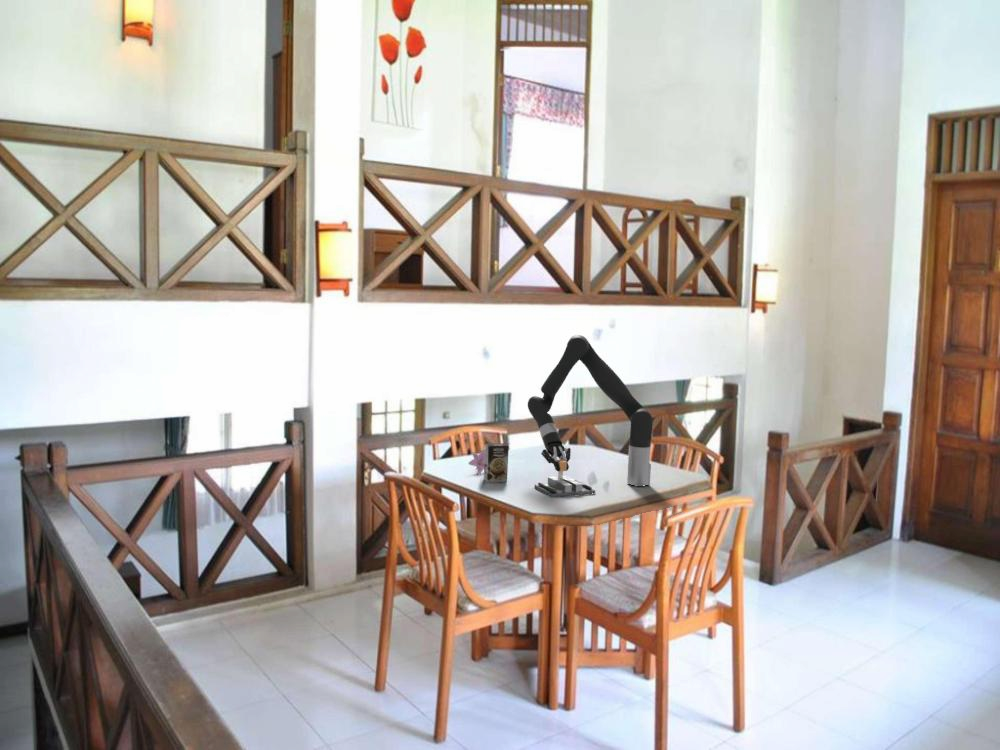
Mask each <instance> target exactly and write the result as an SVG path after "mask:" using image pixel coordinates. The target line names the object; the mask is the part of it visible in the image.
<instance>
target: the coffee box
mask: <svg viewBox="0 0 1000 750" xmlns="http://www.w3.org/2000/svg"><path fill="white" fill-rule="evenodd" d="M484 447H485V448H484V449H485V466H484V470H483V480H484V481H485V482H486V483H488V484H489V483H507V482H508V471H509V470H508V469H509V467H508V466H509V445H508V444H506V443H502V442H501V443H495V442H494V443H493V442H492V443H486V442H485V446H484Z"/></svg>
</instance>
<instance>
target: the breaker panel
mask: <svg viewBox="0 0 1000 750" xmlns="http://www.w3.org/2000/svg"><path fill="white" fill-rule="evenodd" d="M533 488H534V489H535V490H537V491H539V492H541V493H543V494H545V495H547V496H548V495H549V496H548V497H550V496H551V497H550V498H552V497H555V498H563V497H564V496H566V497H575V495H578V496H585V495H584V494H589V495H595V494H596V490H595V489H593V487H591V486H589V485H587V484H585V483H583V482H581V481H579V480H577V479H572V478H571V477H568V476H566V475H563V480H560V479H558V477H556V476H548V477H547V483H542V482H538V483H537V484H534V487H533ZM592 493H593V494H592ZM594 493H595V494H594ZM562 496H563V497H562Z"/></svg>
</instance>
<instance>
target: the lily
mask: <svg viewBox="0 0 1000 750" xmlns="http://www.w3.org/2000/svg"><path fill="white" fill-rule="evenodd" d="M471 454H472V457H473V458H472V459H471V460H470V461H469V462H468V465H470V466H473V467H475V470H476V471H477V474H478V473H480V474H481V473H482V471H484V466H485V448H483V449H482V450H481V451H480V452H479V454H478V453H475V452H473V451H472V452H471Z"/></svg>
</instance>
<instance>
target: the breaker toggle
mask: <svg viewBox="0 0 1000 750" xmlns="http://www.w3.org/2000/svg"><path fill="white" fill-rule="evenodd" d="M557 462H558V463H559V466H560V471H557V470H556V469H555V468H554V470H555V471H557V472H558V473H557V474H558V475H557V478H558V479H560V480H563V476H564V475H563V474H564V472H567V471H566V467H567V463H568V462H567V461H564V460H560V459H557Z"/></svg>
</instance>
